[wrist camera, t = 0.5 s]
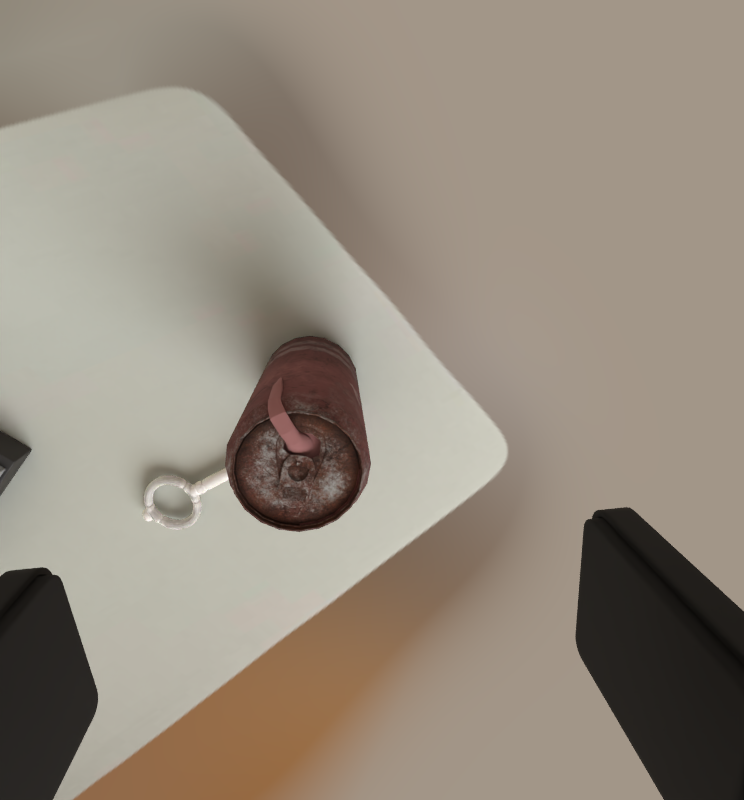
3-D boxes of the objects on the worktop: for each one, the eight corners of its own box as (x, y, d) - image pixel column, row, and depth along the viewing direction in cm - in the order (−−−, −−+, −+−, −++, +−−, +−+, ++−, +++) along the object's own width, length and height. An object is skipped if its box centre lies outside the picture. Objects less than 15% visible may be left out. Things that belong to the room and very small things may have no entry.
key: (128, 490, 35) (164, 536, 36) (123, 497, 34) (160, 543, 35) (277, 411, 34) (309, 461, 35) (276, 416, 33) (308, 467, 34)
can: (330, 315, 32) (328, 372, 19) (371, 399, 34) (395, 503, 21) (246, 355, 33) (187, 438, 19) (292, 435, 35) (266, 561, 21)
